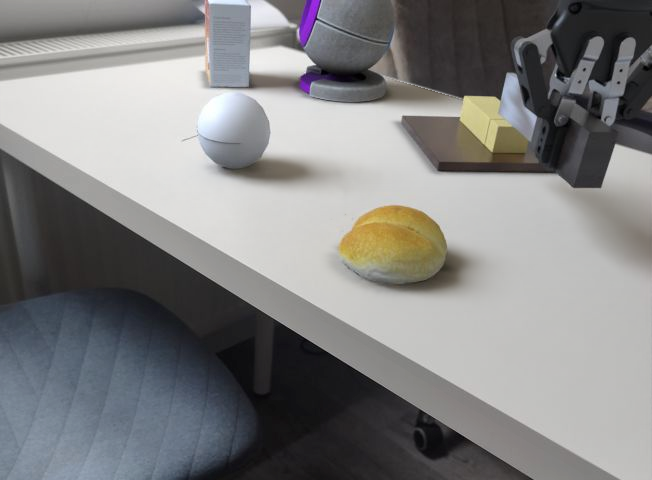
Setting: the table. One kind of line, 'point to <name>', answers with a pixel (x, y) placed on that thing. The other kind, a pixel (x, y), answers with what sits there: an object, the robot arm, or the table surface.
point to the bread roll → (394, 245)
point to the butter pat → (505, 138)
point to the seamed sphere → (233, 130)
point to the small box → (227, 42)
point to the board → (463, 147)
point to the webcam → (345, 47)
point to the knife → (579, 143)
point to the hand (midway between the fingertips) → (563, 165)
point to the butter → (479, 114)
